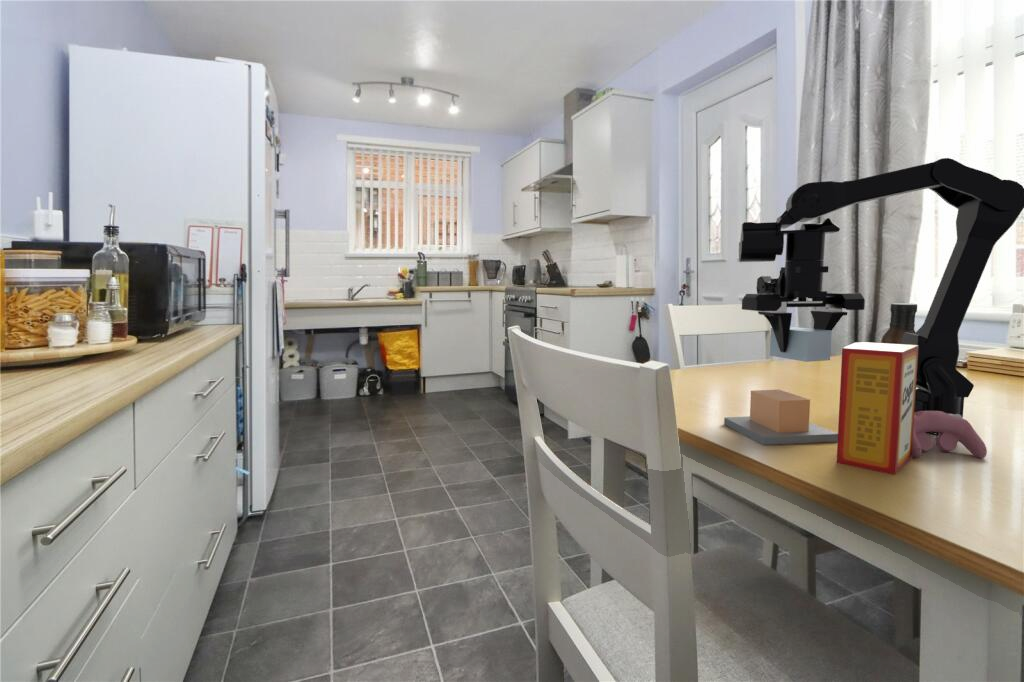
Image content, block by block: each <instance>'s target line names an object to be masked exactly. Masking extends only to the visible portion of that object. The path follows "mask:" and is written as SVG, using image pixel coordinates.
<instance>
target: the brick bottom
mask: <svg viewBox="0 0 1024 682" xmlns="http://www.w3.org/2000/svg"><path fill="white" fill-rule="evenodd" d="M749 403H750V405H749V416H750V420H752V421H754V422H756V423H758V424H761V425H763V426H765V427H767V428H769V429H772V430H774V431H776V432H778V433H781V432H802V431H809V422H810V408H811V399H809V398H806V397H805V396H804V397H803V396H800V395H798V394H794V393H791V392H788V391H784V390H782V389H759V390H756V389H755V390H750V401H749Z"/></svg>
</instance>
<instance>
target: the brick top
mask: <svg viewBox="0 0 1024 682" xmlns="http://www.w3.org/2000/svg"><path fill="white" fill-rule="evenodd" d="M832 331H833V330H832ZM832 331H831V330H821V329H814V328H809V327H798V326H790V332H789V340H788V346H787V349H786V352H781V351H780V349H779V346H778V343H777V340H776V337H775V334H774V331H773V329H772V327H771V328H770V339H769V340H770V341H769V342H770V343H769V356H770V357H776V358H782V359H787V360H788V359H789V360H794V361H801V362H805V363H806V362H807V363H810V362H822V361H823V362H824V361H831V346H832V333H833V332H832Z"/></svg>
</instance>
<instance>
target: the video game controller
mask: <svg viewBox="0 0 1024 682" xmlns="http://www.w3.org/2000/svg"><path fill="white" fill-rule="evenodd" d="M930 432H938V434H937V436H936V437H935V440H934V441H933V439H932V438H931V437H930V436H929V435H928V434H926V433H930ZM934 442H935V446H936V448H937V450H939V451H940V452H944V453H948V452H953V451H955V450H956V449H957V446H958V443H960V444H961V445H963V447H965V448H966V449H967V451H969V453H970V454H972V455H973V456H974V457H976V458H979V459H984V458H985V457H987V453H988V449H987V446H986V444H985V442H984V441H983V439H982V438H981V436H979V434H978V433H977V431H976V430H975V429H974V428H973V425H972V424H971V423H970V422H969V421H968V420H967V419H965V418H962V416H961V415H959V414H948V413H944V412H942V411H919V412H914V424H913V439H912V454H911V457H913V458H916V459H917V458H919V457H921V455H922V452H927V451H929V450H932V449H933V448H934Z"/></svg>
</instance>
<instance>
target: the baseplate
mask: <svg viewBox="0 0 1024 682" xmlns="http://www.w3.org/2000/svg"><path fill="white" fill-rule="evenodd" d="M723 419H724V420H723V425H725V426H726V427H729V428H730V429H732V430H734V431H736V432H738V433H739V434H742V435H744V436H746V437H747V438H749V439H751V440H753V441H755V442H757V443H759V444H761V445H762V446H771V445H793V444H796V445H797V444H810V443H811V444H815V443H818V444H819V443H833V442H834V443H838V432H835V431H832V430H830V429H827V428H825V427H823V426H819V425H817V424H814V423H813V422H810V421H809V431H802V432H781V433H778V432H776V431H774V430H772V429H769V428H767V427H765V426H763V425H761V424H758V423H756V422H754V421H752V420H750V415H748V416H731V417H729V416H728V417H724V418H723Z"/></svg>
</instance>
